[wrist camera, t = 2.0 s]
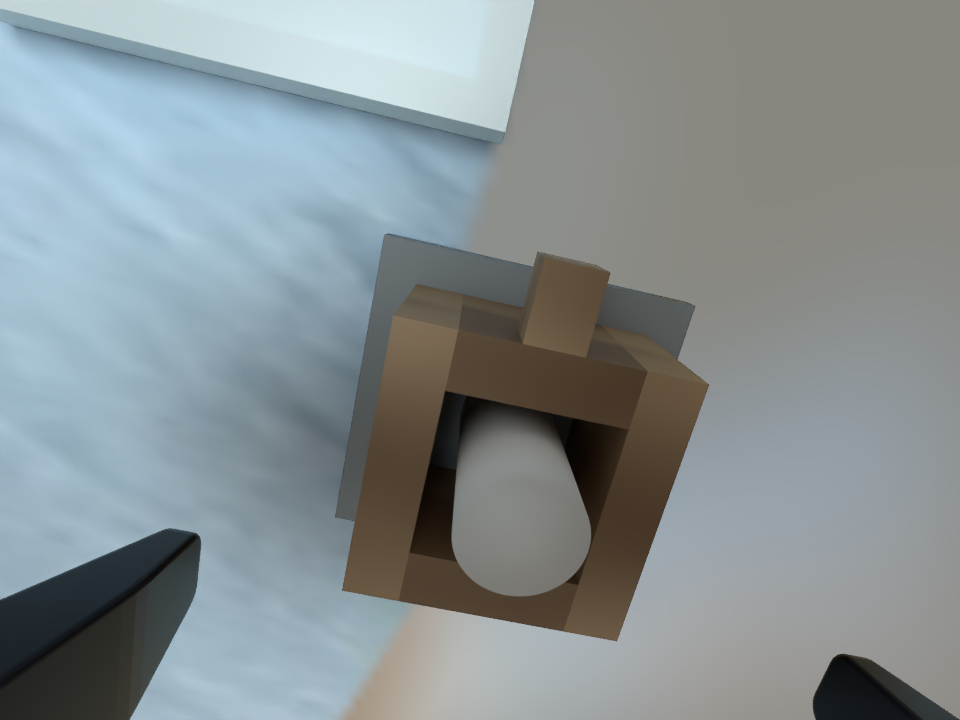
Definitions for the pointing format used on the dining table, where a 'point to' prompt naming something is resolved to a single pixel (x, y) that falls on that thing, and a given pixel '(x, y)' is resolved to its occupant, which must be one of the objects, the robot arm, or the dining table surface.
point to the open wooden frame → (535, 385)
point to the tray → (323, 49)
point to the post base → (484, 286)
